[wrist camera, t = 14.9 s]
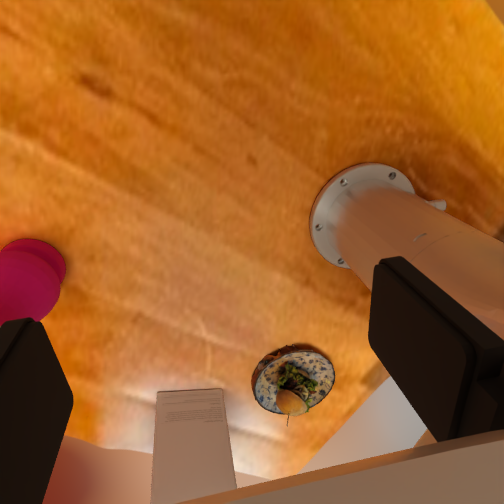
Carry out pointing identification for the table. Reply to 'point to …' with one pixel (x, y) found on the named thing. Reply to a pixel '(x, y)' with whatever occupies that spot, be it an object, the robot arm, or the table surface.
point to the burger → (292, 381)
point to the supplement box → (191, 447)
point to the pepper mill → (29, 279)
